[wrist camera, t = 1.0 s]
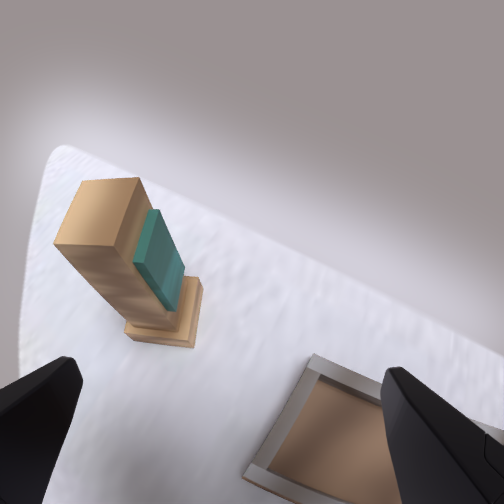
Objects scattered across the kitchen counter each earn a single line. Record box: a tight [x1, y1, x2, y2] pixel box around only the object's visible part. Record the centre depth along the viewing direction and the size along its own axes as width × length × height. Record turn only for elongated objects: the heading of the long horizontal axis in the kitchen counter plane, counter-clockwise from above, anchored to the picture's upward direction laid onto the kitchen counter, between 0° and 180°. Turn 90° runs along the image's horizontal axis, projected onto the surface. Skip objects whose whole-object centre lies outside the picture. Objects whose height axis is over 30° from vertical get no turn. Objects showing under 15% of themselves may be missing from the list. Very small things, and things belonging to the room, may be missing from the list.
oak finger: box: [53, 177, 203, 348], centre depth 20 cm, size 5×5×13 cm
